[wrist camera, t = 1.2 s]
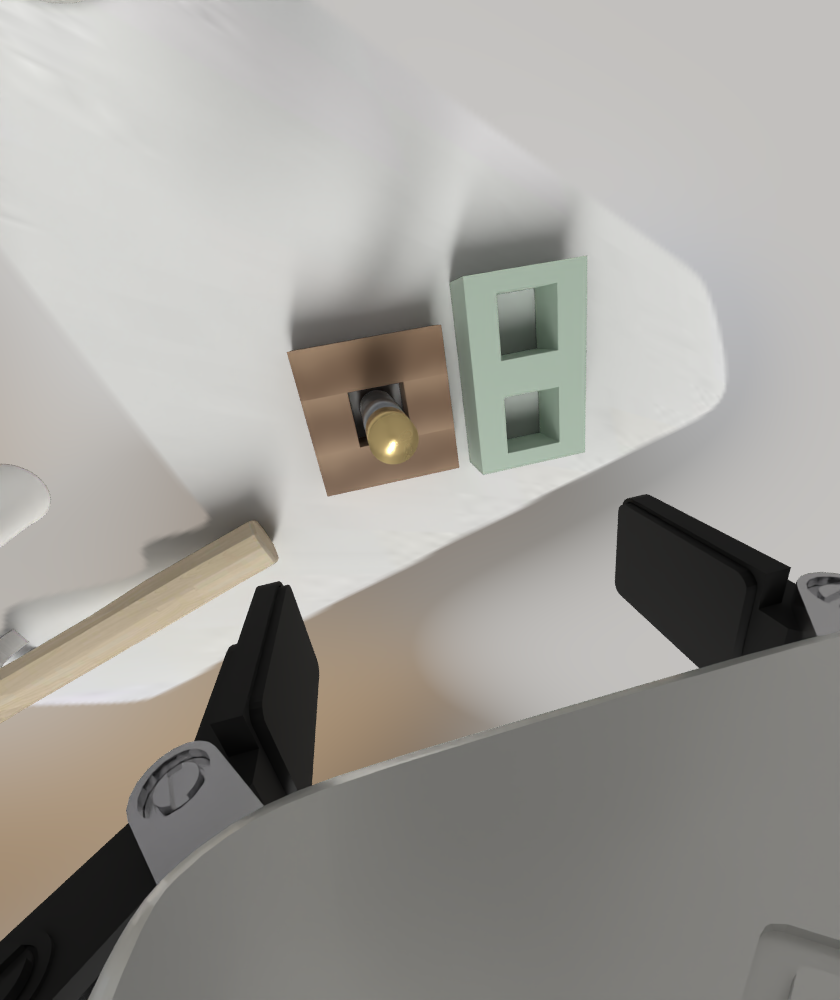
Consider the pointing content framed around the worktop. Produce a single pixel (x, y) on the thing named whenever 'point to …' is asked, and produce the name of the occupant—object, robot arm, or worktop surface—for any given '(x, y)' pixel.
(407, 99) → the worktop surface
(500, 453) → the frame
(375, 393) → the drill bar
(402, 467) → the socket block
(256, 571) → the hammer
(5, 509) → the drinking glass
